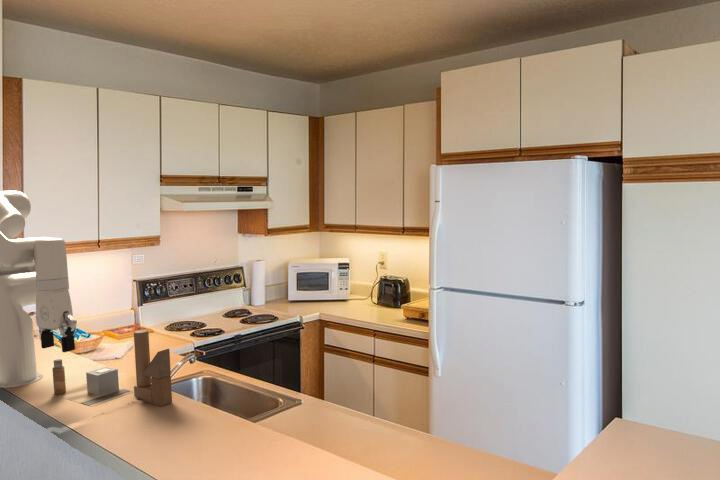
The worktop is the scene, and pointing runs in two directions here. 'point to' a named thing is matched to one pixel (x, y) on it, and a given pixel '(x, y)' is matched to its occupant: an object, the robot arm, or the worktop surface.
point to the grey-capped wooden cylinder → (59, 377)
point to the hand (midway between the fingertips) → (58, 349)
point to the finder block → (102, 381)
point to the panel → (91, 395)
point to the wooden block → (151, 372)
